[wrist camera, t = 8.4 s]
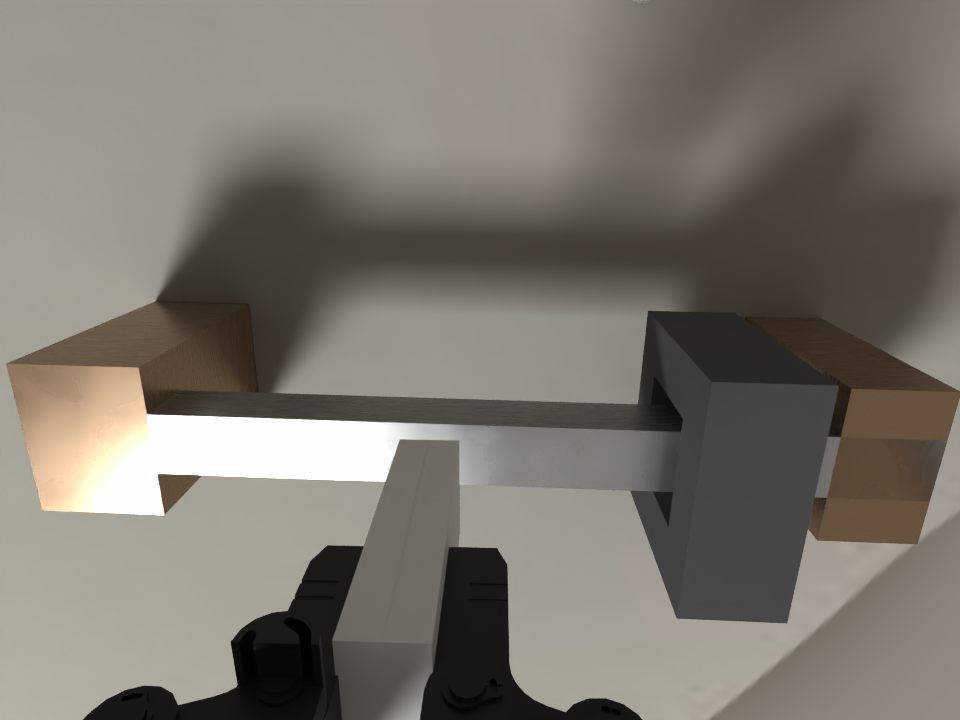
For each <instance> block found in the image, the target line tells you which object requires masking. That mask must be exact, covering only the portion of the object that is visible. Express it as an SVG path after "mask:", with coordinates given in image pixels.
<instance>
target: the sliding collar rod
mask: <svg viewBox="0 0 960 720" xmlns="http://www.w3.org/2000/svg"><path fill="white" fill-rule="evenodd" d="M746 321H747V322H749V323H750V324H751V325H753V326H754V327H756V328H757V329H759V330H760V331H762V332H763V333H764V334H766V335H767V336H769V337H770V338H772V339H773V340H774V341H776V342H777V343H779V344H780V345H782V346H783V347H784V348H786V349H787V350H789V351H790V352H792V353H793V354H794V355H796V356H797V357H799V358H800V359H802V360H803V361H804V362H806V363H807V364H809V365H810V366H812V367H813V368H814V369H816V370H817V371H819V372H820V373H822V374H823V375H824V376H826V377H827V378H829V379H830V380H832V381H833V382H835V383H836V384H837V385H839V389H838V393H837V398H836V402H835V407H834V412H833V416H832V421H831V425H830V430H829V434H828V439H827V444H826V448H825V453H824V457H823V462H822V466H821V471H820V475H819V480H818V485H817V489H816V494H815V498H814V503H813V507H812V512H811V516H810V521H809V526H808V529H809V531H810V532H811V533H812V534H813V536H814V537H815V538H816V539H817V540H821V541H846V542H872V543H898V544H918V540H919V537H920V533H921V530H922V526H923V523H924V519H925V516H926V512H927V509H928V506H929V502H930V499H931V495H932V492H933V488H934V485H935V481H936V478H937V474H938V471H939V468H940V464H941V461H942V457H943V454H944V450H945V447H946V443H947V440H948V436H949V433H950V429H951V426H952V423H953V419H954V416H955V412H956V409H957V405H958V402H959V398H960V391H958V390H956V389H954V388H952V387H950V386H949V385H947V384H945V383H943V382H941V381H939V380H937V379H935V378H933V377H931V376H929V375H928V374H926V373H924V372H922V371H920V370H918V369H916V368H914V367H912V366H910V365H908V364H907V363H905V362H903V361H901V360H899V359H897V358H895V357H893V356H891V355H889V354H888V353H886V352H884V351H882V350H880V349H878V348H876V347H874V346H872V345H870V344H868V343H867V342H865V341H863V340H861V339H859V338H857V337H855V336H853V335H851V334H849V333H848V332H846V331H844V330H842V329H840V328H838V327H836V326H834V325H832V324H830V323H828V322H827V321H825V320H823V319H804V318H765V317H746ZM6 365H7V369H8V373H9V377H10V381H11V385H12V389H13V393H14V397H15V401H16V405H17V409H18V413H19V417H20V422H21V426H22V430H23V434H24V438H25V442H26V446H27V450H28V454H29V458H30V462H31V466H32V470H33V474H34V478H35V482H36V486H37V490H38V494H39V498H40V502H41V506H42V510H45V511H71V512H97V513H123V514H149V515H165V514H166V513H167V512H168V511H169V510H170V508H171V507H172V506H173V505H174V504H175V503H176V502H177V501H178V500H179V499H180V498H181V497H182V496H183V495H184V494H185V493H186V492H187V491H188V490H189V489H190V487H191V486H192V485H193V484H194V483H195V482H196V481H197V480H198V479H199V478H200V477H201V476H202V475H213V476H241V477H268V478H296V479H324V480H351V481H379V482H386V479H387V476H388V473H389V470H390V467H391V464H392V461H393V458H394V455H395V452H396V449H397V446H398V443H399V440H400V439H409V440H455V441H459V484H462V485H489V486H517V487H544V488H572V489H600V490H627V491H655V492H673V489H674V482H675V474H676V467H677V459H678V452H679V444H680V437H681V429H682V422H683V418H682V417H681V415H680V414H679V412H678V411H677V409H676V408H675V406H670V405H638V404H606V403H574V402H542V401H510V400H478V399H446V398H414V397H381V396H349V395H317V394H285V393H258V387H257V378H256V369H255V360H254V351H253V341H252V332H251V323H250V314H249V305H248V304H223V303H185V302H153V303H150V304H148V305H146V306H143V307H141V308H138V309H136V310H134V311H131V312H129V313H126V314H124V315H122V316H119V317H117V318H114V319H112V320H110V321H107V322H105V323H102V324H100V325H98V326H95V327H93V328H90V329H88V330H86V331H83V332H81V333H79V334H76V335H74V336H71V337H69V338H67V339H64V340H62V341H59V342H57V343H55V344H52V345H50V346H47V347H45V348H43V349H40V350H38V351H35V352H33V353H31V354H28V355H26V356H23V357H21V358H19V359H16V360H14V361H11V362H9V363H7V364H6Z"/></svg>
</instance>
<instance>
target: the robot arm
mask: <svg viewBox="0 0 960 720" xmlns="http://www.w3.org/2000/svg"><path fill="white" fill-rule="evenodd" d="M459 534H460V484H459V441H455V440H409V439H400V440H399V443H398V446H397V449H396V452H395V455H394V458H393V461H392V464H391V467H390V470H389V473H388V476H387V479H386V482H385V485H384V488H383V491H382V494H381V497H380V500H379V503H378V506H377V509H376V512H375V515H374V518H373V521H372V524H371V527H370V530H369V533H368V535H367V538H366V541H365V544H364V546H329V545H327V546H326V547H325V548H324V549H323V550H322V551H321V552H320V553H319V554H318V555H317V556H316V557H314V558H313V559H312V560H311V561H310V563H309V565H308V568H307V570H306V572H305V574H304V576H303V579H302V583H301V584H300V585H299V588H298V590H297V592H296V594H295V599H293V601H292V603H291V605H290V607H289V610H288V611H284V612H275V613H271V614H268V615H265V616H263V617H260V618H257V619H255V620H253V621H252V622H251V623H249V624H248V625H246V626H245V627H243V628H242V629H241V630H240V631H239V632H238V633H237V635H236V636H235V637H234V639H233V640H232V641H231V647H232V653H233V659H234V665H235V671H236V677H237V683H238V685H237V687H236V688H234V689H232V690H230V691H228V692H226V693H223V694H220V695H217V696H214V697H210V698H206V699H202V700H198V701H194V702H190V703H186V704H182V705H178V704H177V702H176V700H175V698H174V696H173V693H171V692H169V691H167V690H166V689H164V688H162V687H157V686H141V687H137V688H133V689H128V690H125V691H123V692H121V693H119V694H117V695H115V696H113V697H111V698H109V699H107V700H105V701H104V702H103V703H101V704H100V705H99V706H98V707H96V708H95V709H94V710H93V711H91V712H90V713H89V714H88V715H87V716H86V717H85V718H84V719H83V720H642V719H641V718H640V716H639V715H638V714H636V713H635V712H633V711H632V710H631V709H629V708H628V707H626V706H625V705H624V704H621V703H618V702H615V701H612V700H609V699H586V700H583V701H581V702H578V703H576V704H573V706H572V707H571V708H570V709H569V710H568V711H567V712H563V711H560V710H557V709H554V708H551V707H549V706H546V705H544V704H542V703H539V702H537V701H535V700H533V699H532V698H531V697H529V696H528V695H527V694H525V693H524V692H523V691H522V690H521V689H520V687H519V686H518V685H517V684H516V682H515V680H514V678H513V676H512V674H511V671H510V665H509V628H508V573H507V564H506V562H505V560H504V559H503V557H502V556H501V554H500V552H499V551H498V549H497V548H468V547H458V544H459Z"/></svg>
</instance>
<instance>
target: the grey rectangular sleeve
mask: <svg viewBox="0 0 960 720" xmlns="http://www.w3.org/2000/svg"><path fill="white" fill-rule="evenodd" d="M838 389H839V385H837V384H836V383H835V382H833V381H832V380H830V379H829V378H827V377H826V376H824V375H823V374H822V373H820V372H819V371H817V370H816V369H814V368H813V367H812V366H810V365H809V364H807V363H806V362H804V361H803V360H802V359H800V358H799V357H797V356H796V355H794V354H793V353H792V352H790V351H789V350H787V349H786V348H784V347H783V346H782V345H780V344H779V343H777V342H776V341H774V340H773V339H772V338H770V337H769V336H767V335H766V334H764V333H763V332H762V331H760V330H759V329H757V328H756V327H754V326H753V325H751V324H750V323H749V322H747V321H746V320H744V319H743V318H741V317H740V316H739V315H737V314H736V313H707V312H668V311H648V317H647V326H646V336H645V345H644V354H643V364H642V373H641V382H640V392H639V401H638V405H670V406H675V408H676V409H677V411H678V412H679V414H680V415H681V417H682V418H683V422H682V429H681V437H680V444H679V452H678V459H677V467H676V474H675V482H674V489H673V492H655V491H631V494H632V497H633V499H634V502H635V505H636V508H637V510H638V513H639V516H640V519H641V521H642V524H643V527H644V530H645V532H646V535H647V538H648V541H649V543H650V546H651V549H652V551H653V554H654V557H655V560H656V562H657V565H658V568H659V571H660V573H661V576H662V579H663V582H664V584H665V587H666V590H667V593H668V595H669V598H670V601H671V604H672V606H673V609H674V612H675V615H676V617H677V618H678V619H701V620H724V621H746V622H769V623H787V621H788V617H789V612H790V608H791V603H792V599H793V594H794V589H795V585H796V580H797V576H798V571H799V567H800V562H801V558H802V553H803V548H804V544H805V539H806V535H807V530H808V526H809V521H810V516H811V512H812V507H813V503H814V498H815V494H816V489H817V485H818V480H819V475H820V471H821V466H822V462H823V457H824V453H825V448H826V444H827V439H828V434H829V430H830V425H831V421H832V416H833V412H834V407H835V402H836V398H837V393H838Z"/></svg>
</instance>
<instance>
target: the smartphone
mask: <svg viewBox="0 0 960 720" xmlns="http://www.w3.org/2000/svg"><path fill="white" fill-rule="evenodd" d="M631 1H634V2H636V3H648V2H651V1H653V0H631Z"/></svg>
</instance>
